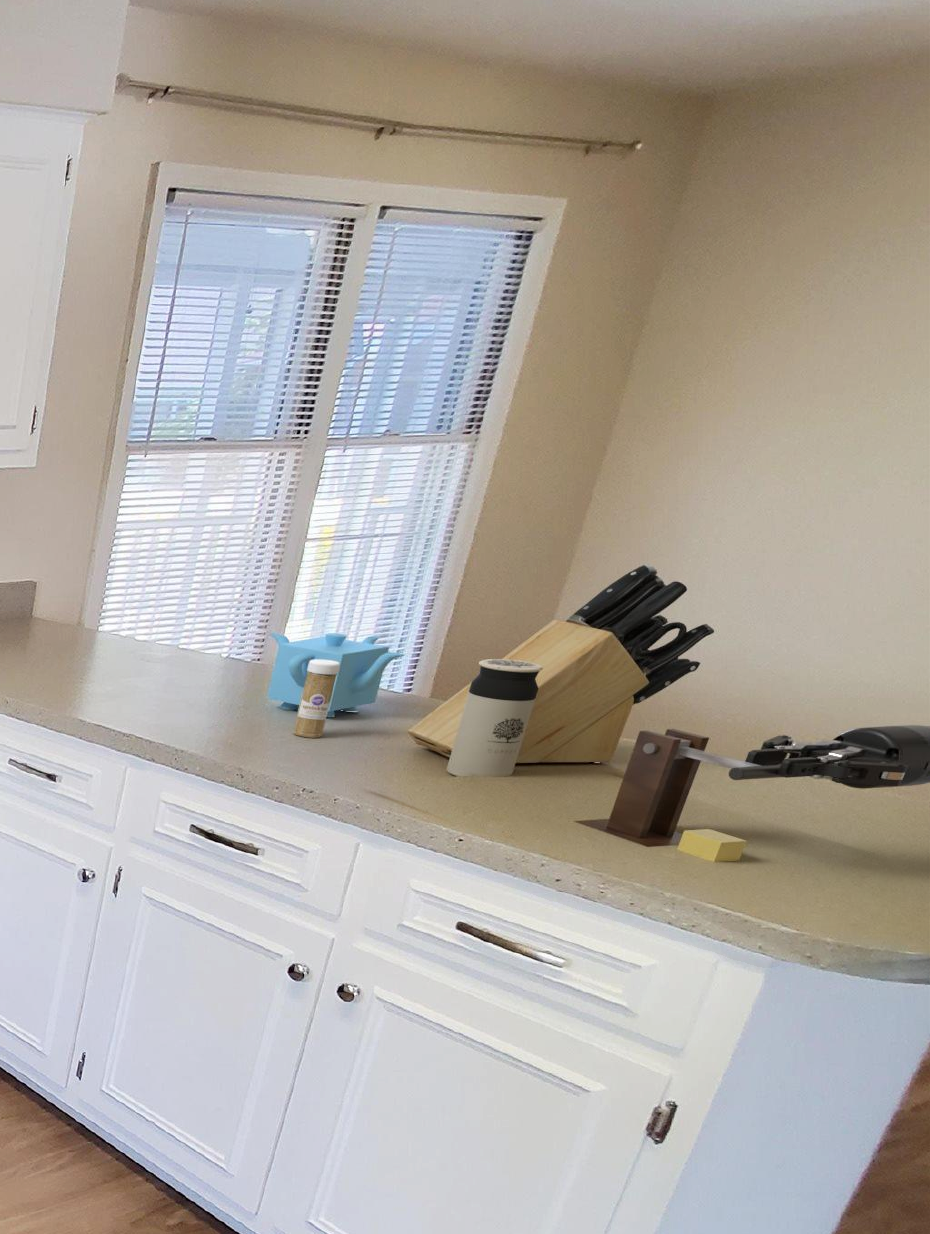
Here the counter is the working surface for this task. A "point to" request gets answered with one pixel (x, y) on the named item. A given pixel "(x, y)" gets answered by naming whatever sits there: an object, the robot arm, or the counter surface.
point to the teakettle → (352, 680)
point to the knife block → (588, 673)
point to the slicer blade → (728, 763)
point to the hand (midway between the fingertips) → (767, 763)
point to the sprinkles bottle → (316, 698)
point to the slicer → (653, 790)
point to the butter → (711, 845)
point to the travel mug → (494, 718)
